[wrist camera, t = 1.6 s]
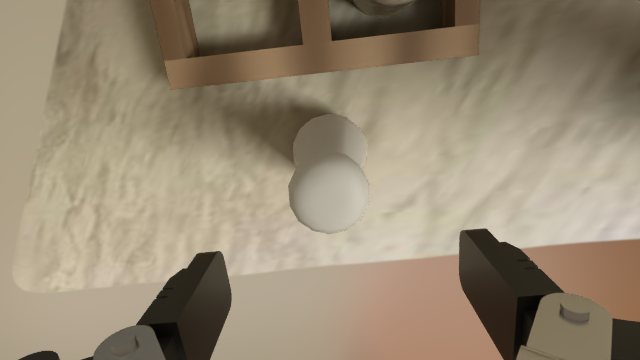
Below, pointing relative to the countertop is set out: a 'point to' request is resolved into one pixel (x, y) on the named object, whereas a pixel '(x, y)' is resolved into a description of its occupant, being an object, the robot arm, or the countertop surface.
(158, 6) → the spice rail
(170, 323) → the robot arm
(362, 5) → the pepper shaker
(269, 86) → the countertop surface
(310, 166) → the salt shaker
